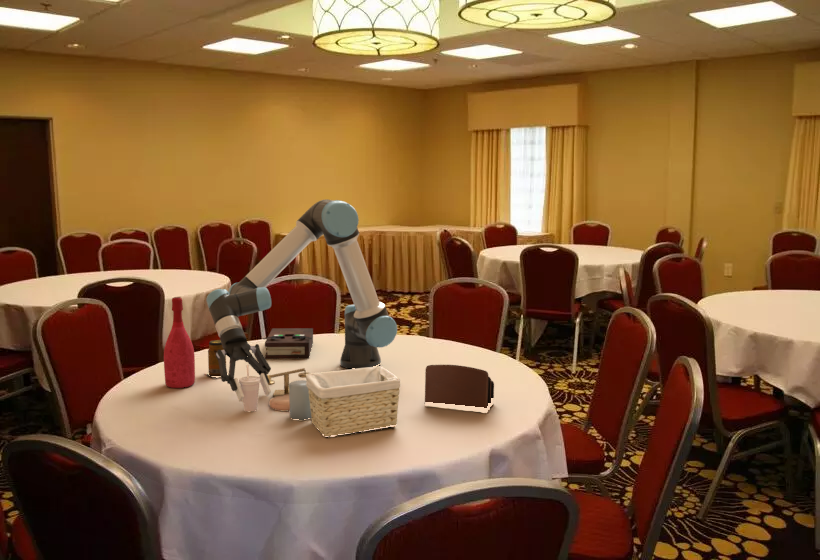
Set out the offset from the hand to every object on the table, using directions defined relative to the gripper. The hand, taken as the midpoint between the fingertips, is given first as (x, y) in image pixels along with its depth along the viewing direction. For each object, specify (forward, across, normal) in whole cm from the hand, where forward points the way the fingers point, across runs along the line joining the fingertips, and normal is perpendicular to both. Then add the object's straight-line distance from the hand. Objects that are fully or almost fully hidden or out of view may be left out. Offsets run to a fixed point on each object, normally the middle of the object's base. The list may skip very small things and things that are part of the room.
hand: (255, 396), depth 213 cm
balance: (-4, -16, -11) cm, 20 cm away
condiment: (-28, -7, -36) cm, 46 cm away
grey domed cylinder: (+11, -10, +4) cm, 15 cm away
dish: (+3, -12, -4) cm, 13 cm away
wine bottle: (-25, +8, -33) cm, 42 cm away
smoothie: (+1, 0, -6) cm, 6 cm away
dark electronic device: (-39, -44, -47) cm, 76 cm away
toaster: (+26, -54, +18) cm, 62 cm away
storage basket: (+22, -18, +14) cm, 32 cm away
